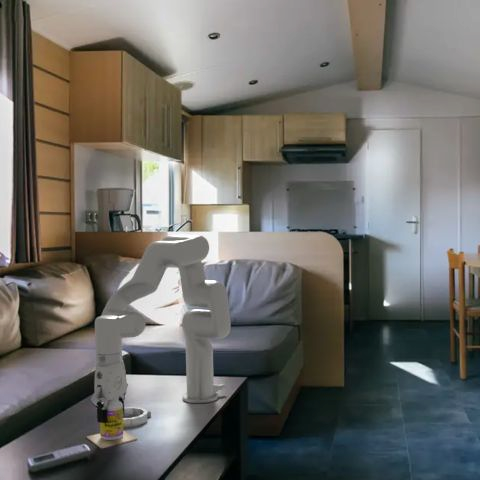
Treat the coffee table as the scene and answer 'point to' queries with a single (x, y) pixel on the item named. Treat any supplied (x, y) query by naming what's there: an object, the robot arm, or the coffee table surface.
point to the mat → (107, 443)
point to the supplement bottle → (113, 421)
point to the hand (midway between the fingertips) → (111, 417)
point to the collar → (135, 421)
